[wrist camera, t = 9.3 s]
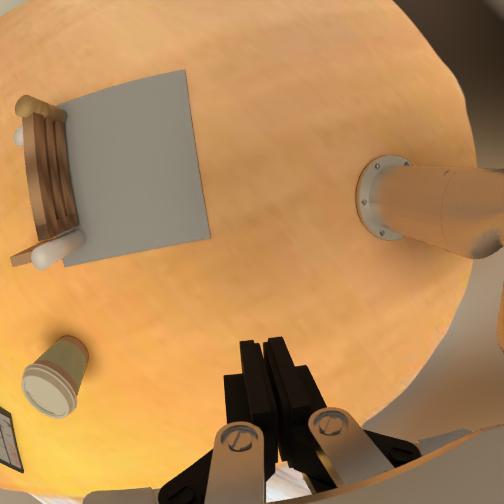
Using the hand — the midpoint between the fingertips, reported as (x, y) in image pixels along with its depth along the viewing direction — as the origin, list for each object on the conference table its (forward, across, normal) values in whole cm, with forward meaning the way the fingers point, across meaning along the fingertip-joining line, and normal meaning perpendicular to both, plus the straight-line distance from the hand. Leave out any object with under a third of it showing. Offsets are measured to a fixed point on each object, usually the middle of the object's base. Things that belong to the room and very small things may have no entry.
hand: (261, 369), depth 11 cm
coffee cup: (+26, +26, +16) cm, 41 cm away
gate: (+25, +21, -11) cm, 35 cm away
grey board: (+27, +16, -10) cm, 32 cm away
